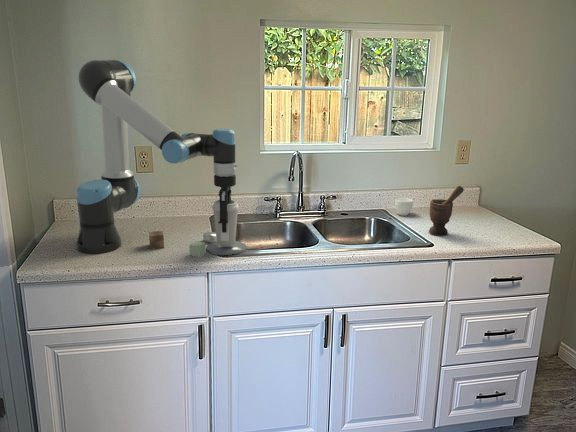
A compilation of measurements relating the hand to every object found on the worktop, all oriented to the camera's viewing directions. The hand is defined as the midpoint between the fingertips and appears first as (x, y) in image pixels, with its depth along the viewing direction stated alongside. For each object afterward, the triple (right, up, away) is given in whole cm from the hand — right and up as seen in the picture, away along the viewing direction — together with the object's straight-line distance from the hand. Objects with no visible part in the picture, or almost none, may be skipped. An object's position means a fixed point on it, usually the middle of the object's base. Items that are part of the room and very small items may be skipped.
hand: (226, 236), depth 190 cm
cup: (+74, +8, +48) cm, 88 cm away
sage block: (-9, -6, -4) cm, 12 cm away
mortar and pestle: (+84, 0, +21) cm, 87 cm away
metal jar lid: (-7, -2, +9) cm, 12 cm away
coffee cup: (0, -2, +1) cm, 2 cm away
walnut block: (-26, -4, +3) cm, 26 cm away
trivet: (0, -4, +1) cm, 5 cm away
